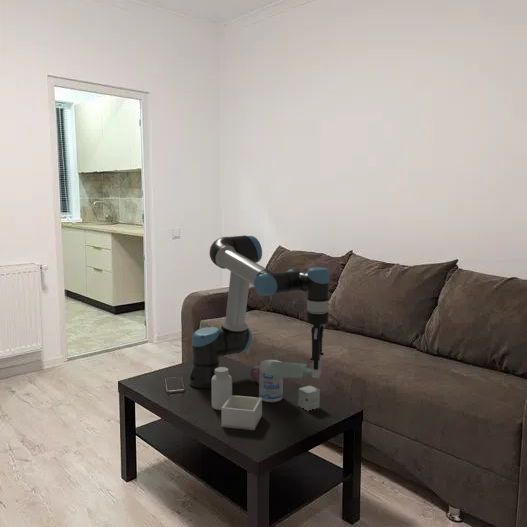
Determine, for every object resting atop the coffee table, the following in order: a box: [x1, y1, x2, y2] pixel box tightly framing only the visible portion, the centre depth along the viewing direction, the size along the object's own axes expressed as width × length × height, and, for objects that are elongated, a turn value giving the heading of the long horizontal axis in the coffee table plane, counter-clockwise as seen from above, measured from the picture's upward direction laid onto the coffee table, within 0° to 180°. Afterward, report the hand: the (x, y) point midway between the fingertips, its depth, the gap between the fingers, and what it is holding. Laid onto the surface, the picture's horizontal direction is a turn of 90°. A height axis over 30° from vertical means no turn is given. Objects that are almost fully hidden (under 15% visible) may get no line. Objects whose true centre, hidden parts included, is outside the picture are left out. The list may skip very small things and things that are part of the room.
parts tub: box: [220, 394, 263, 431], centre depth 187 cm, size 12×12×7 cm
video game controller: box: [250, 365, 260, 384], centre depth 229 cm, size 10×5×7 cm, turn 164°
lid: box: [265, 361, 312, 379], centre depth 187 cm, size 13×18×7 cm
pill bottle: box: [211, 366, 233, 411], centre depth 200 cm, size 8×8×15 cm
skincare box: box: [297, 385, 321, 412], centre depth 200 cm, size 6×6×7 cm
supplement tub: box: [258, 359, 284, 403], centre depth 208 cm, size 10×10×15 cm
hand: (316, 375), depth 186 cm, fingers closed on lid, 4 cm apart
